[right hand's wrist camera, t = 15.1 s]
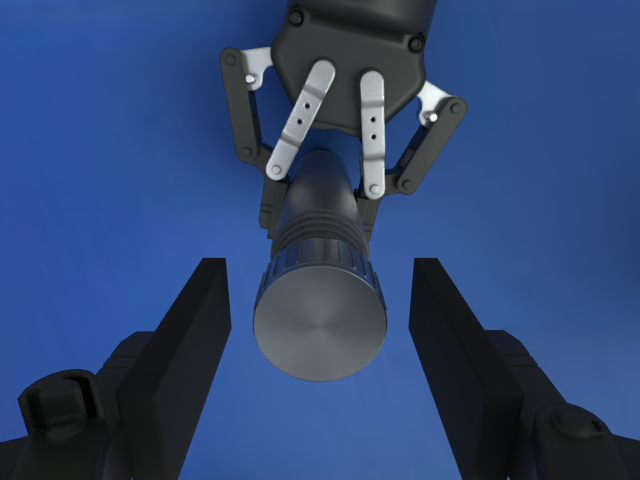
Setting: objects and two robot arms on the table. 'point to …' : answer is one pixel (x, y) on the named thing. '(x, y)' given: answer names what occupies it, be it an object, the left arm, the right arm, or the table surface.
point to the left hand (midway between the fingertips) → (312, 241)
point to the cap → (319, 311)
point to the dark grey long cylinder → (320, 205)
